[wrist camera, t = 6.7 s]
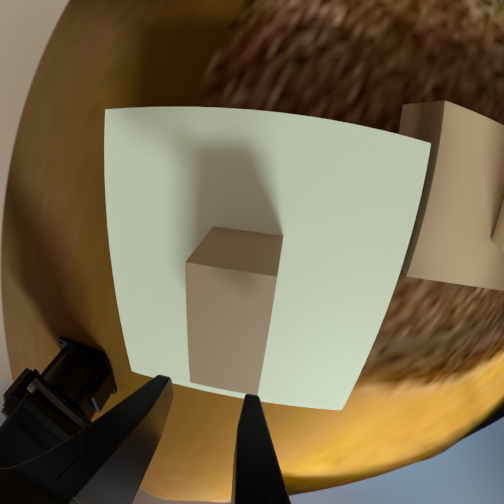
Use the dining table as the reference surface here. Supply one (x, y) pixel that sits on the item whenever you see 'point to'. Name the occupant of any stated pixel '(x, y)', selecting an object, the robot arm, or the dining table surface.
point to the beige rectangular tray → (457, 196)
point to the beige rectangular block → (499, 230)
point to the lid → (256, 246)
